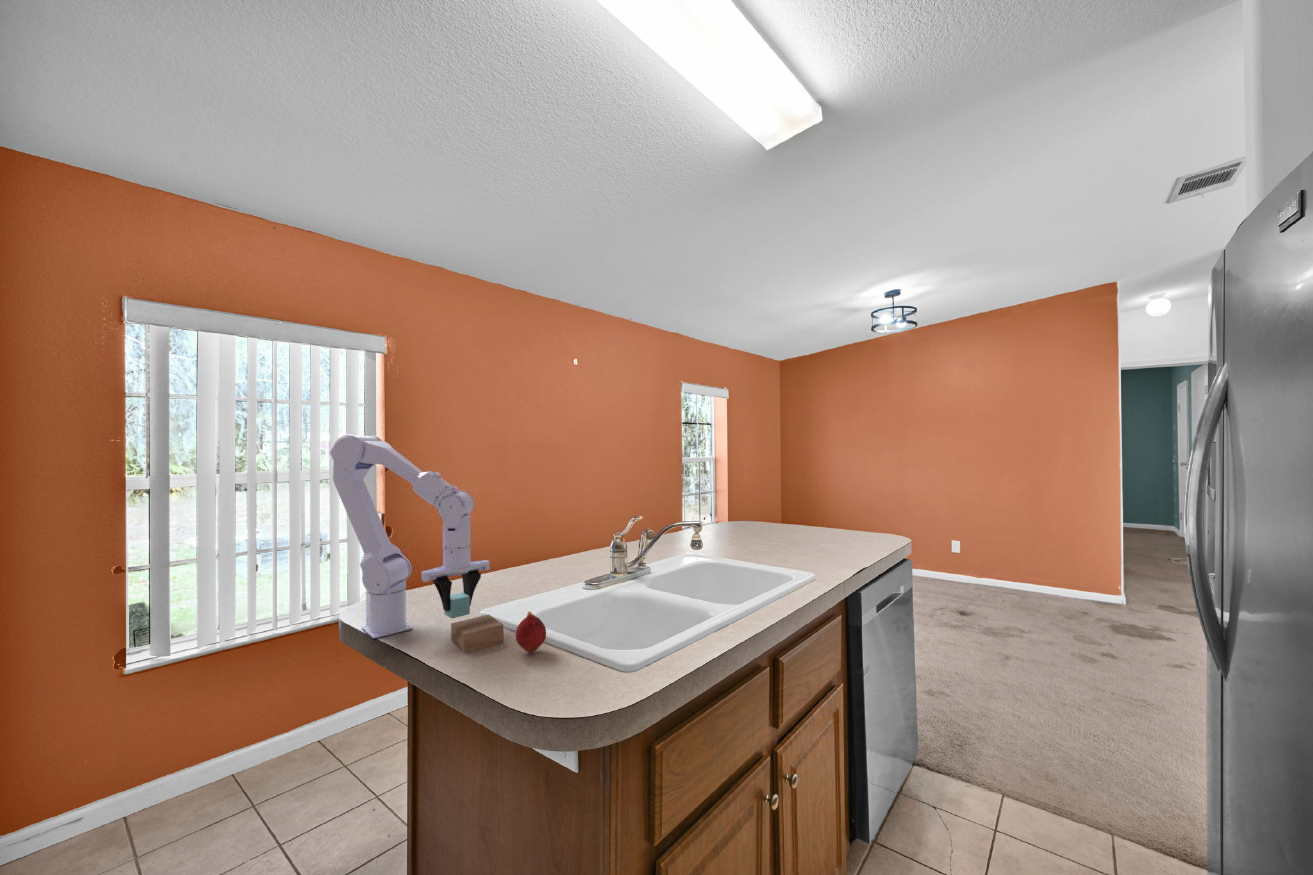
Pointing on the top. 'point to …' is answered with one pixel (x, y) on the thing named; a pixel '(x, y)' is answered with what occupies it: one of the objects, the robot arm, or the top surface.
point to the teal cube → (458, 605)
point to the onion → (530, 633)
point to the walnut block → (477, 633)
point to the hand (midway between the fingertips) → (457, 607)
